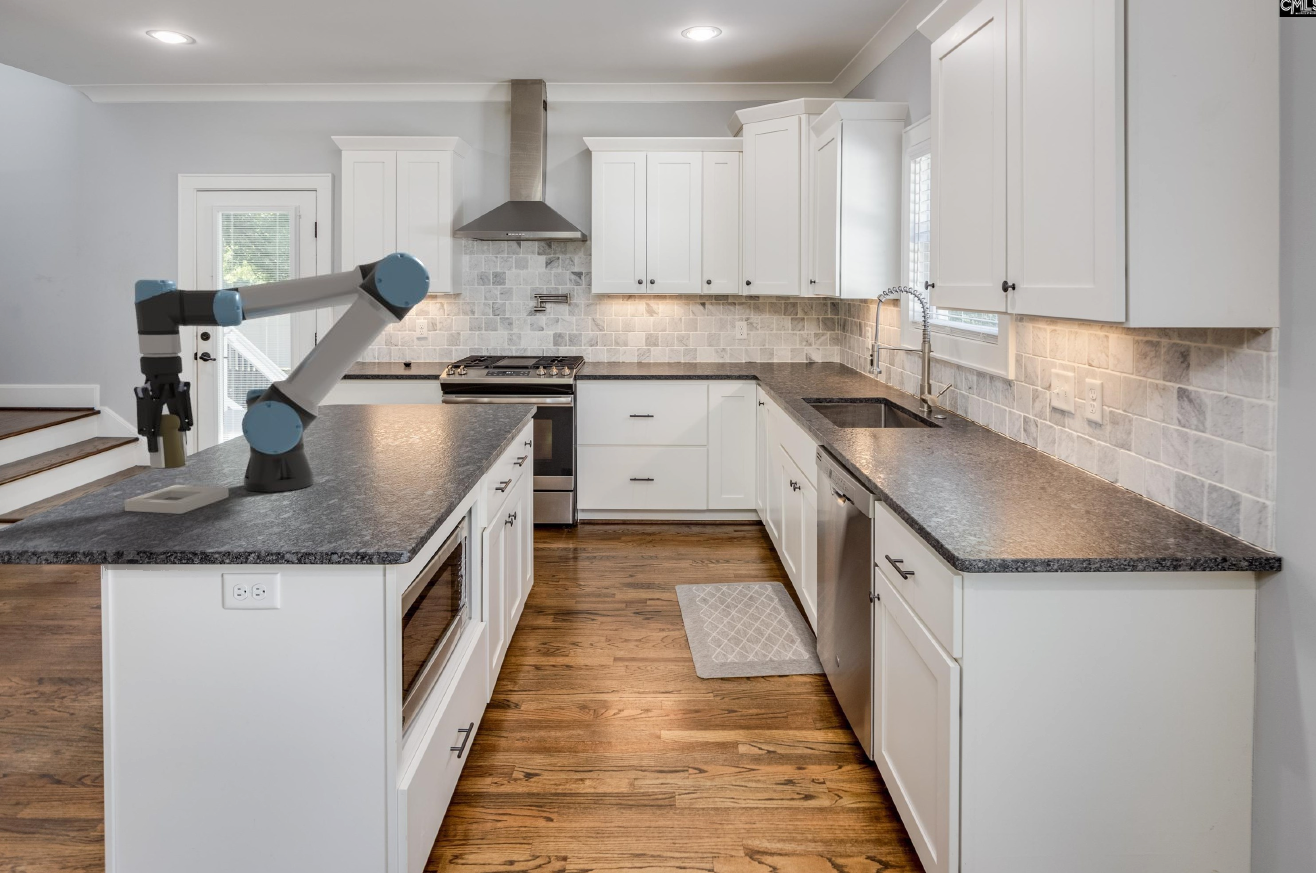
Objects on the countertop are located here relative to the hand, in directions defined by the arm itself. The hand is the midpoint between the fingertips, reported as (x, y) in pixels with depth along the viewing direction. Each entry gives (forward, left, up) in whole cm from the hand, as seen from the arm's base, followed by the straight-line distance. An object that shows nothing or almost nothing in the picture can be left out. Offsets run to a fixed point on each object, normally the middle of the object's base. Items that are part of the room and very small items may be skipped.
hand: (169, 464), depth 180 cm
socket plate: (-2, 0, -9) cm, 9 cm away
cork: (0, 0, -1) cm, 1 cm away
